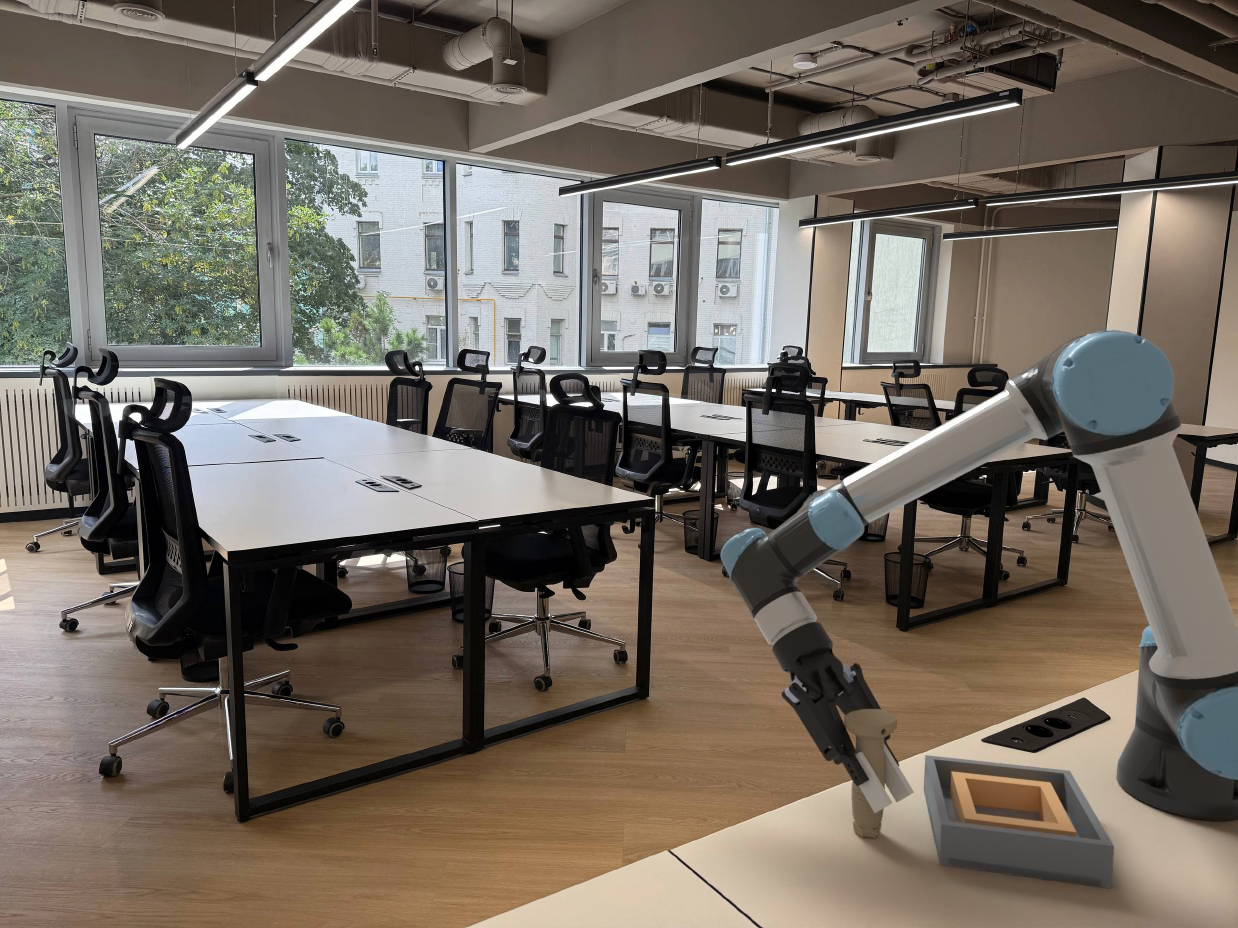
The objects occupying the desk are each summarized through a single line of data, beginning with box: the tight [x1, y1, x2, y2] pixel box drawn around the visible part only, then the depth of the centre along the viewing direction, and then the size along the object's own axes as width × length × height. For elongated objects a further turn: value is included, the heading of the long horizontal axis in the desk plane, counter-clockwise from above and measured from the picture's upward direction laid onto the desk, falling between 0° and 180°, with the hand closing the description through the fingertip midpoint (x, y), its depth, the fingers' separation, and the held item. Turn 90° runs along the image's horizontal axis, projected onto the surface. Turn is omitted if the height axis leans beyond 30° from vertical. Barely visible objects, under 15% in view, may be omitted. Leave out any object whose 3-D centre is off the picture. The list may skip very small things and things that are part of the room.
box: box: [923, 754, 1115, 889], centre depth 104 cm, size 18×18×5 cm
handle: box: [843, 708, 898, 839], centre depth 103 cm, size 5×6×15 cm
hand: (894, 802), depth 101 cm, fingers closed on handle, 3 cm apart
